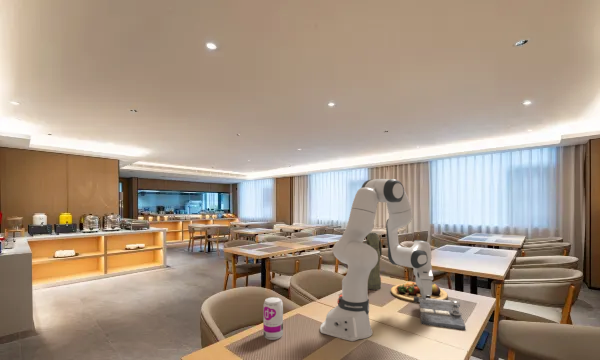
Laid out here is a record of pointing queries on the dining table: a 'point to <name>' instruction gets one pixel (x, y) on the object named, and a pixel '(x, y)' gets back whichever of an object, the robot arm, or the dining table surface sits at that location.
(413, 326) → the dining table surface
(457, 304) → the swing bar
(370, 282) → the dark olive tall piece
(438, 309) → the board
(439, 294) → the wooden plate with food
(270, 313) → the supplement can
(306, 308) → the dining table surface
